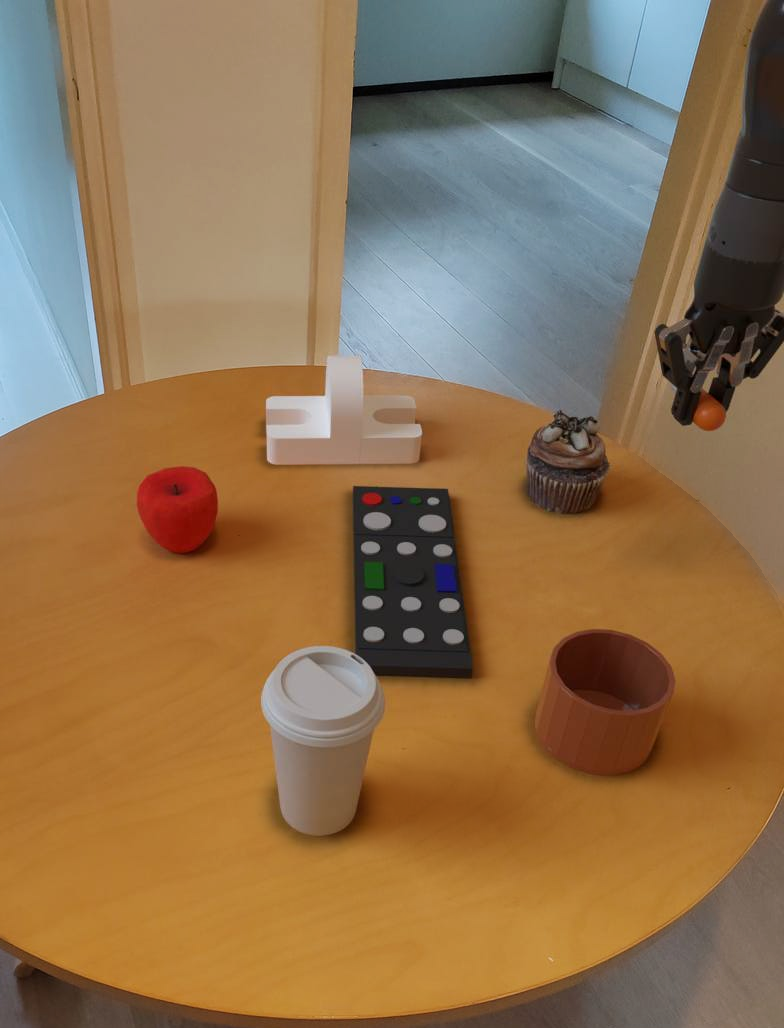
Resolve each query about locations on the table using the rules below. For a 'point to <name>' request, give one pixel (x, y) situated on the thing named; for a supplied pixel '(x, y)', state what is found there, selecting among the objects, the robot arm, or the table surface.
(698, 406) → the orange double-bulb handle
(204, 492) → the apple
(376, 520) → the remote control
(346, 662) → the coffee cup
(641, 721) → the utensil cup
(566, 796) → the table surface
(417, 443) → the bracket
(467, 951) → the table surface
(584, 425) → the cupcake
